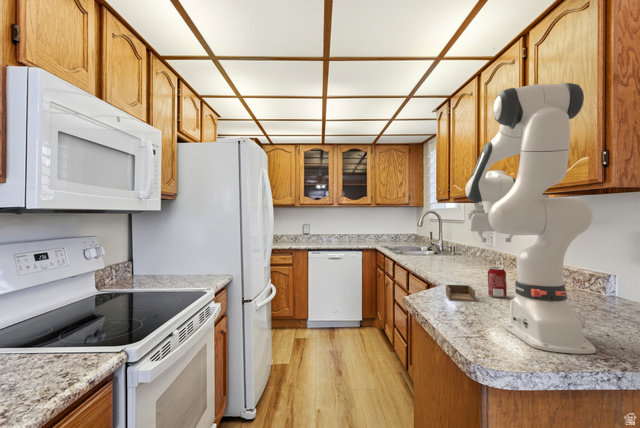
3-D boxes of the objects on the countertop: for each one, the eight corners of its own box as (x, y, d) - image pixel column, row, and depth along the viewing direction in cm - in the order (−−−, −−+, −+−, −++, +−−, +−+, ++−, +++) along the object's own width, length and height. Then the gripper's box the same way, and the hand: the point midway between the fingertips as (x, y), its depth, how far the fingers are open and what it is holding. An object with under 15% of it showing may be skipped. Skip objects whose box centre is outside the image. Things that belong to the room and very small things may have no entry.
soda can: (505, 299, 126) (504, 269, 126) (486, 297, 130) (486, 268, 130) (507, 295, 131) (506, 267, 132) (489, 293, 136) (488, 266, 136)
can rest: (475, 301, 124) (474, 290, 124) (449, 300, 126) (448, 289, 126) (469, 295, 133) (469, 285, 133) (445, 294, 136) (445, 284, 136)
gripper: (470, 209, 131) (470, 242, 131) (525, 208, 126) (525, 243, 126) (466, 210, 137) (467, 241, 137) (519, 208, 132) (520, 241, 132)
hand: (495, 242), depth 131 cm, fingers open, 8 cm apart
